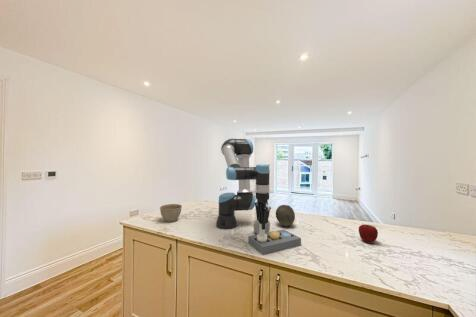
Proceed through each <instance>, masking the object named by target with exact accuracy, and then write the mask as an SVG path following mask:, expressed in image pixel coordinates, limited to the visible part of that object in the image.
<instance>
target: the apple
mask: <svg viewBox="0 0 476 317" xmlns="http://www.w3.org/2000/svg"><path fill="white" fill-rule="evenodd" d="M378 231H379V230H378V229H377V228H376V227H375V226H373V225H370V224H361V225H359V226H358V234H359V237H360V239H361V240H362V241H363V242H365V243H367V244H372V243H374V242H376V241H377V238H378V236H379V232H378Z"/></svg>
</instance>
